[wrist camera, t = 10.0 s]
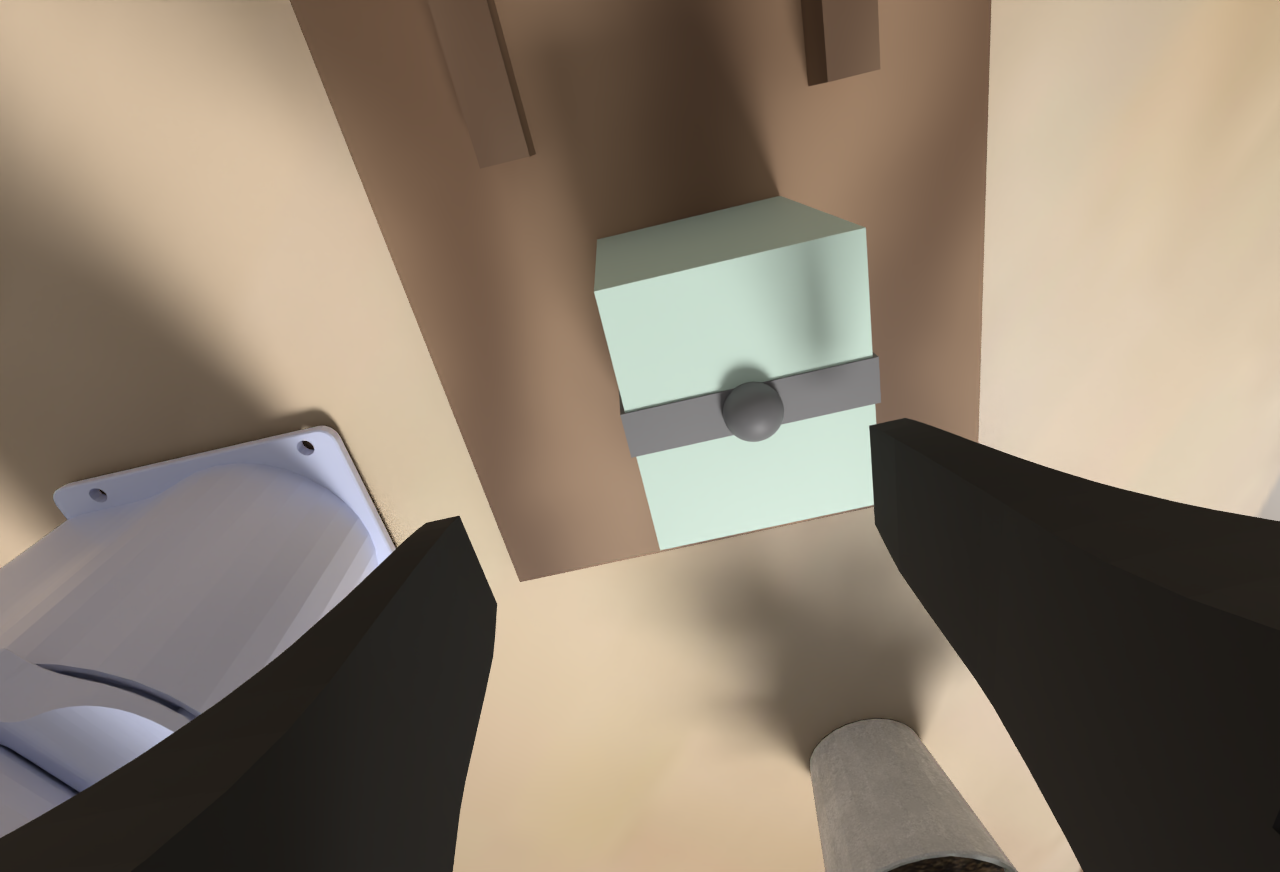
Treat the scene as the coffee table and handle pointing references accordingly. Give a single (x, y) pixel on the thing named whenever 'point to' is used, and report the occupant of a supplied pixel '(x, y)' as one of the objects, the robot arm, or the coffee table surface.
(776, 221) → the sage block
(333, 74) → the shelf
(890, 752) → the house plant
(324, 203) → the coffee table surface
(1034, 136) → the coffee table surface
